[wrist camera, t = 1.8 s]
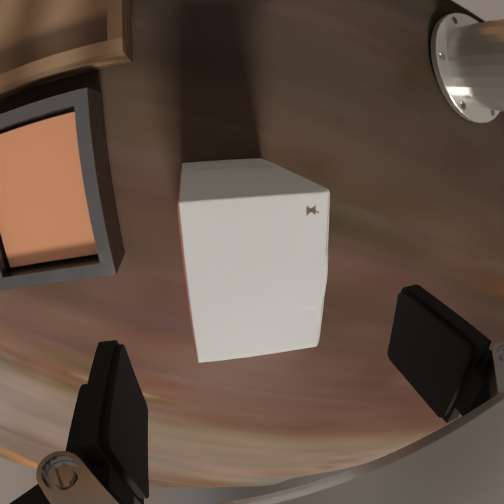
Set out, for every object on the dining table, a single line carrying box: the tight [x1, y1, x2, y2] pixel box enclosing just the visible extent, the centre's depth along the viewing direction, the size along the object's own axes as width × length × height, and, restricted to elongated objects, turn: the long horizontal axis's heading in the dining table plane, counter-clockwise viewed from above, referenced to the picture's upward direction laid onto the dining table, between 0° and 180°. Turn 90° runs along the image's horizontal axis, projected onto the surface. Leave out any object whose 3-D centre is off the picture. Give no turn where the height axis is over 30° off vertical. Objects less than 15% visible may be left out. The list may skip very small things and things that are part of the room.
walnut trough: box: [0, 0, 132, 100], centre depth 14 cm, size 16×13×4 cm
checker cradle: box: [0, 87, 125, 290], centre depth 20 cm, size 11×13×4 cm
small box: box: [177, 158, 330, 362], centre depth 20 cm, size 8×6×13 cm
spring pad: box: [0, 112, 98, 268], centre depth 20 cm, size 8×10×1 cm
